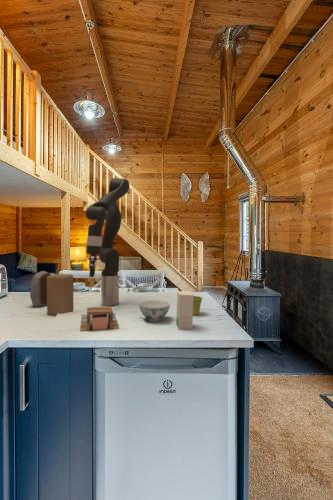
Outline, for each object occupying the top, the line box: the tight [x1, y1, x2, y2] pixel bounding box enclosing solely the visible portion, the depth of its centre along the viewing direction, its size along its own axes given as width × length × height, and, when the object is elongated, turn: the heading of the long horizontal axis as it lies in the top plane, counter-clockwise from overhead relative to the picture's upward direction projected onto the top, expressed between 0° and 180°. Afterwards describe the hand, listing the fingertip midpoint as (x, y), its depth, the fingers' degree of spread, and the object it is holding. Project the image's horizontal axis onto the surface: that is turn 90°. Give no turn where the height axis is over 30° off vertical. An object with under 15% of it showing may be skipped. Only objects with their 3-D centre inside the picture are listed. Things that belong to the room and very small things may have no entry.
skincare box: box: [175, 290, 195, 330], centre depth 134 cm, size 8×7×16 cm
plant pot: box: [193, 295, 203, 316], centre depth 157 cm, size 9×9×9 cm
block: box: [46, 273, 74, 316], centre depth 156 cm, size 10×10×20 cm
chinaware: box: [138, 300, 171, 322], centre depth 146 cm, size 15×15×8 cm
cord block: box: [92, 314, 107, 331], centre depth 134 cm, size 18×6×5 cm, turn 14°
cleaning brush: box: [29, 270, 52, 307], centre depth 174 cm, size 15×8×20 cm, turn 160°
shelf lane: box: [79, 306, 120, 332], centre depth 137 cm, size 26×16×9 cm, turn 14°
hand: (92, 276), depth 156 cm, fingers open, 8 cm apart
